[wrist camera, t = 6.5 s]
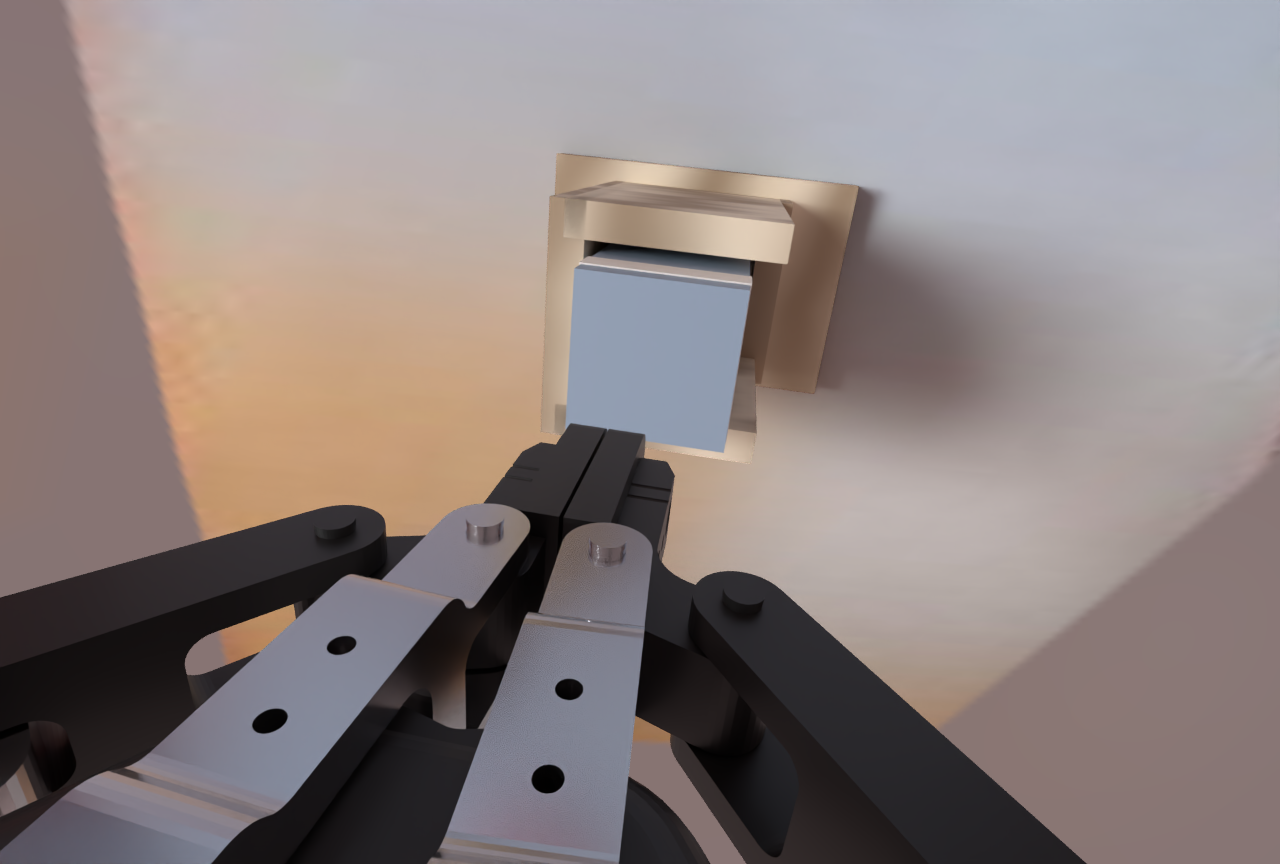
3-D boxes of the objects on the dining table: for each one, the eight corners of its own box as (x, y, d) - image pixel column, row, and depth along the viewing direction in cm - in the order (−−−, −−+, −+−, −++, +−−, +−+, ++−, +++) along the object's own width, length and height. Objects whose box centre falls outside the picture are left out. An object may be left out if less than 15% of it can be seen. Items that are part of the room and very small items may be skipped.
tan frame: (854, 185, 31) (916, 206, 20) (812, 386, 35) (842, 501, 24) (563, 153, 32) (461, 155, 21) (554, 350, 37) (464, 442, 25)
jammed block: (751, 231, 31) (752, 289, 18) (734, 337, 33) (724, 454, 20) (643, 219, 32) (572, 266, 19) (633, 323, 34) (563, 430, 21)
